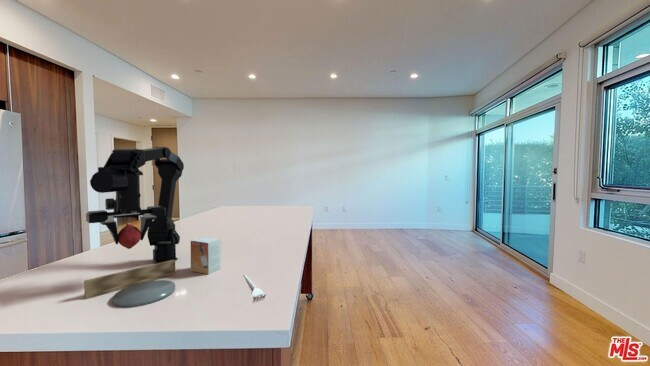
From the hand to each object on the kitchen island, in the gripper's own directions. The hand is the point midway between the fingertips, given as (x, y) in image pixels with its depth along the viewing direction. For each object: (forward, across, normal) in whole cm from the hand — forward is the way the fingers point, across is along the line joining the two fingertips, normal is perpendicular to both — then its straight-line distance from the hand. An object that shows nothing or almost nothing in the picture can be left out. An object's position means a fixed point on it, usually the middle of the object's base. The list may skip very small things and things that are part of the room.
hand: (129, 242), depth 80 cm
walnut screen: (+12, 0, +3) cm, 13 cm away
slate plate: (+12, 0, +13) cm, 18 cm away
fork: (+13, -22, +31) cm, 40 cm away
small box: (+12, -19, +8) cm, 24 cm away
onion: (+2, 0, 0) cm, 2 cm away
